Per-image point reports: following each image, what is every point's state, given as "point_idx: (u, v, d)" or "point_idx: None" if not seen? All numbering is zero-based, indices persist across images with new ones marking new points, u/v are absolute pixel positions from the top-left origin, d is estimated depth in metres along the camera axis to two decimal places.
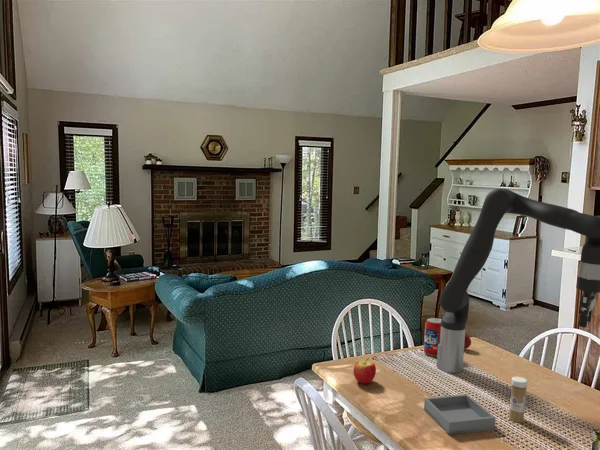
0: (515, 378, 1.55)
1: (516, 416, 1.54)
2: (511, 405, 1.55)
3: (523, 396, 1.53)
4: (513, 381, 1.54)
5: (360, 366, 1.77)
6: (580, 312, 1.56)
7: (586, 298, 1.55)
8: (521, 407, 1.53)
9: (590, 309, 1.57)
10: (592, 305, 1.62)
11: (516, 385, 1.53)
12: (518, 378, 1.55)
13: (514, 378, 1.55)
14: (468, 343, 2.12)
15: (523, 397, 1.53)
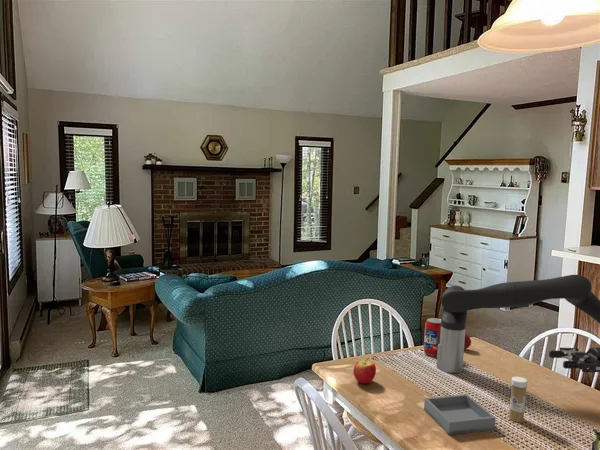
0: (515, 378, 1.55)
1: (516, 416, 1.54)
2: (511, 405, 1.55)
3: (523, 396, 1.53)
4: (513, 381, 1.54)
5: (360, 366, 1.77)
6: (585, 365, 1.46)
7: None
8: (521, 407, 1.53)
9: None
10: (570, 359, 1.56)
11: (516, 385, 1.53)
12: (518, 378, 1.55)
13: (514, 378, 1.55)
14: (468, 343, 2.12)
15: (523, 397, 1.53)
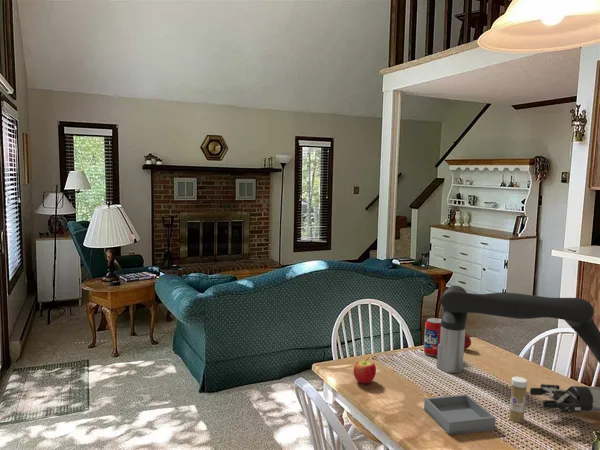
0: (515, 378, 1.55)
1: (516, 416, 1.54)
2: (511, 405, 1.55)
3: (523, 396, 1.53)
4: (513, 381, 1.54)
5: (360, 366, 1.77)
6: (564, 406, 1.48)
7: (580, 409, 1.48)
8: (521, 407, 1.53)
9: None
10: (551, 397, 1.58)
11: (516, 385, 1.53)
12: (518, 378, 1.55)
13: (514, 378, 1.55)
14: (468, 343, 2.12)
15: (523, 397, 1.53)
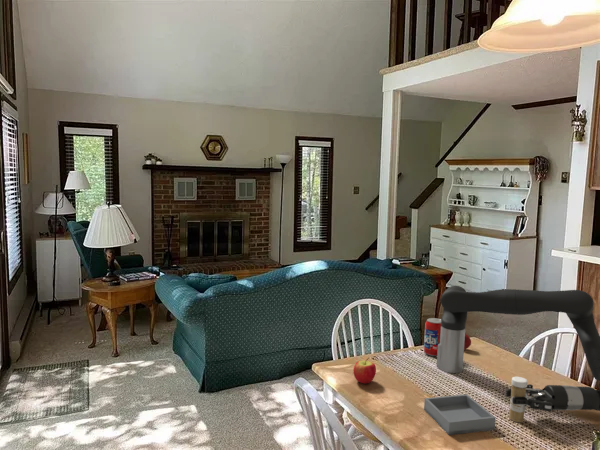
0: (515, 378, 1.55)
1: (516, 416, 1.54)
2: (511, 405, 1.55)
3: (523, 396, 1.53)
4: (513, 381, 1.54)
5: (360, 366, 1.77)
6: (533, 402, 1.50)
7: (550, 408, 1.48)
8: (521, 407, 1.53)
9: None
10: None
11: (516, 385, 1.53)
12: (518, 378, 1.55)
13: (514, 378, 1.55)
14: (468, 343, 2.12)
15: None
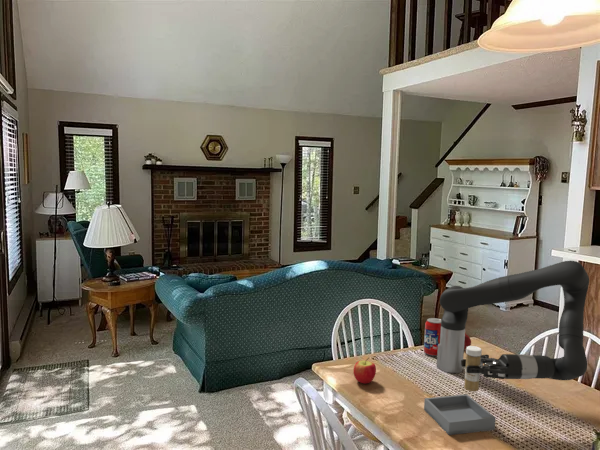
0: (469, 347, 1.52)
1: (471, 386, 1.52)
2: (466, 374, 1.53)
3: (477, 365, 1.51)
4: (467, 350, 1.52)
5: (360, 366, 1.77)
6: (486, 370, 1.48)
7: (503, 376, 1.46)
8: (475, 376, 1.51)
9: None
10: None
11: (470, 354, 1.51)
12: (472, 347, 1.53)
13: (468, 347, 1.52)
14: (468, 343, 2.12)
15: None
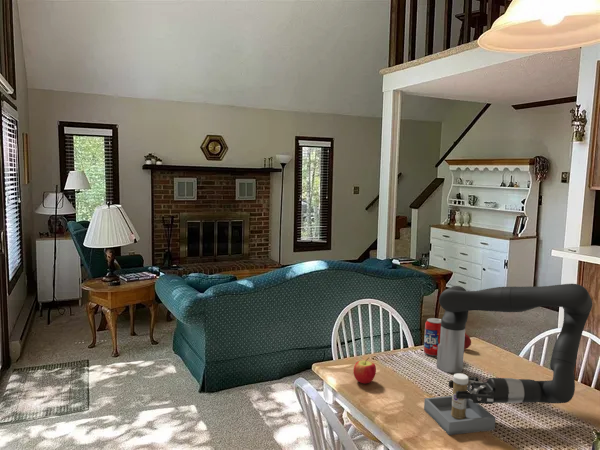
0: (456, 375, 1.54)
1: (457, 413, 1.53)
2: (453, 402, 1.54)
3: None
4: (454, 378, 1.53)
5: (360, 366, 1.77)
6: (475, 396, 1.47)
7: (492, 401, 1.47)
8: (461, 404, 1.52)
9: None
10: (469, 390, 1.56)
11: (457, 382, 1.52)
12: (459, 375, 1.54)
13: (455, 375, 1.54)
14: (468, 343, 2.12)
15: None
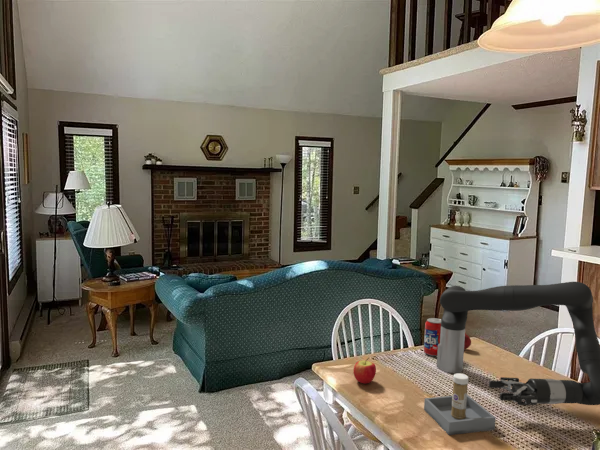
0: (457, 375, 1.54)
1: (457, 413, 1.53)
2: (453, 402, 1.54)
3: (463, 393, 1.52)
4: (454, 378, 1.53)
5: (360, 366, 1.77)
6: (520, 398, 1.47)
7: (536, 402, 1.47)
8: (462, 404, 1.52)
9: None
10: (509, 390, 1.56)
11: (457, 382, 1.52)
12: (459, 375, 1.54)
13: (456, 375, 1.54)
14: (468, 343, 2.12)
15: (464, 394, 1.52)
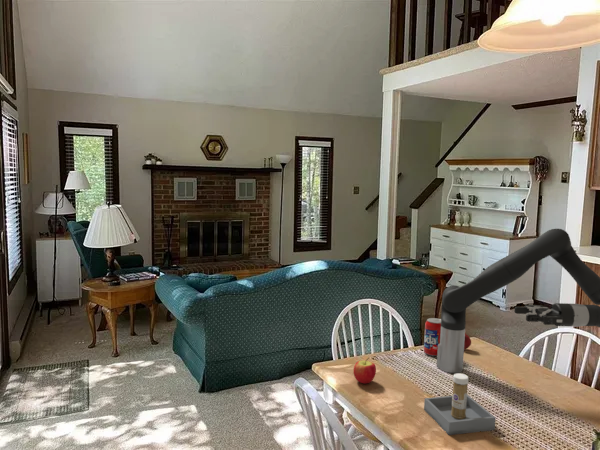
0: (457, 375, 1.54)
1: (457, 413, 1.53)
2: (453, 402, 1.54)
3: (463, 393, 1.52)
4: (454, 378, 1.53)
5: (360, 366, 1.77)
6: (546, 318, 1.54)
7: (561, 322, 1.54)
8: (462, 404, 1.52)
9: None
10: None
11: (457, 382, 1.52)
12: (459, 375, 1.54)
13: (456, 375, 1.54)
14: (468, 343, 2.12)
15: (464, 394, 1.52)
